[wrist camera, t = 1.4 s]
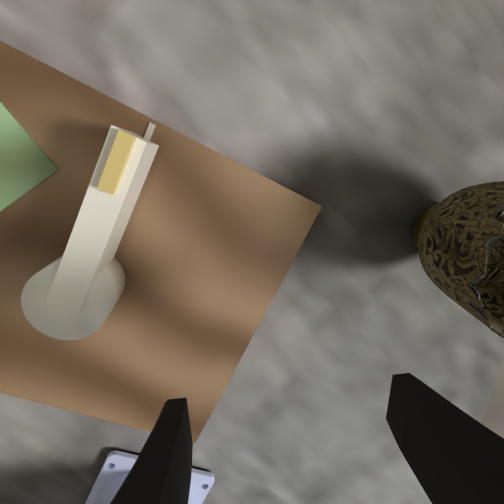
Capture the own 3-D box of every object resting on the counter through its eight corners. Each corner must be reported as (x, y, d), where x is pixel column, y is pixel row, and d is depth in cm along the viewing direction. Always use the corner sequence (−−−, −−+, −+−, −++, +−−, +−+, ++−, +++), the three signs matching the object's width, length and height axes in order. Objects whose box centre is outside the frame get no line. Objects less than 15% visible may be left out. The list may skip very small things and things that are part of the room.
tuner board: (195, 430, 22) (195, 444, 21) (-138, 342, 18) (-159, 353, 16) (316, 203, 19) (322, 206, 18) (-59, 11, 14) (-80, -1, 13)
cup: (421, 301, 22) (534, 376, 14) (357, 232, 20) (450, 279, 12) (503, 224, 21) (670, 261, 14) (446, 143, 19) (606, 135, 11)
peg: (112, 317, 18) (87, 359, 14) (45, 294, 17) (0, 333, 13) (180, 156, 16) (172, 155, 12) (109, 120, 15) (77, 108, 11)
